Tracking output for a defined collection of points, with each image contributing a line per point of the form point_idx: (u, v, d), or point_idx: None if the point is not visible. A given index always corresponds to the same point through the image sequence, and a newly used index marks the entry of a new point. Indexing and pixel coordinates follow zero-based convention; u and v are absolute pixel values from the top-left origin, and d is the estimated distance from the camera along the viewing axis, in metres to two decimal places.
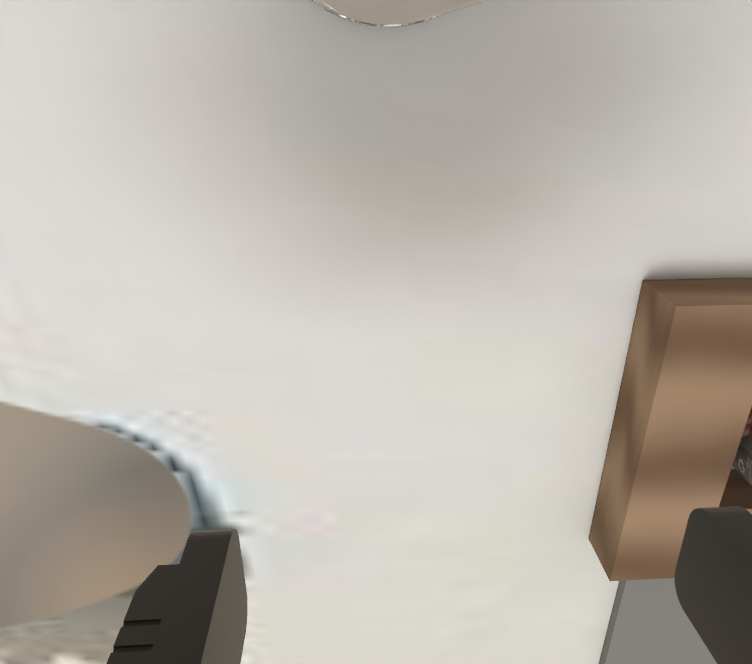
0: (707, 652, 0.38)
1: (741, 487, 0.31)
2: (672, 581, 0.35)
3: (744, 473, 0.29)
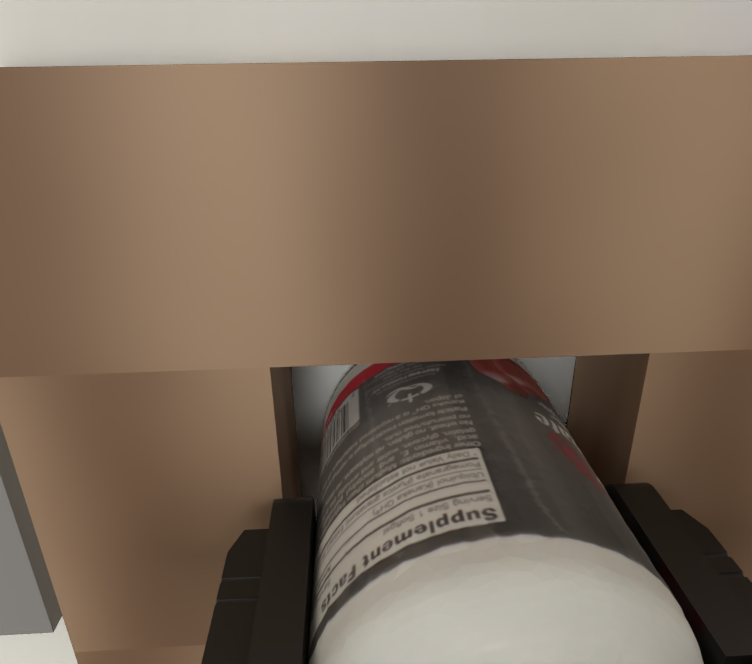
0: None
1: (287, 427, 0.12)
2: None
3: (393, 404, 0.11)
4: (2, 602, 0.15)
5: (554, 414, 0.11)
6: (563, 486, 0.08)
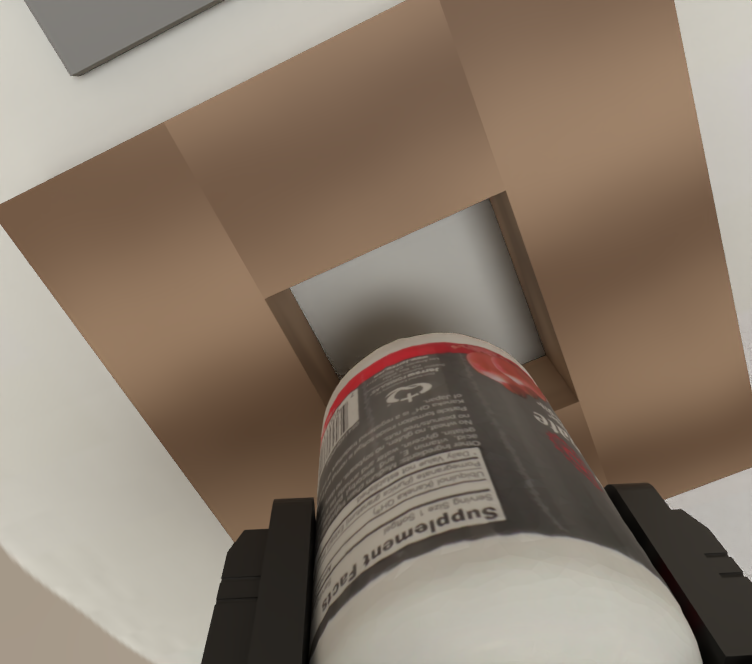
0: None
1: None
2: None
3: (392, 404, 0.11)
4: (85, 14, 0.14)
5: (553, 414, 0.11)
6: (563, 484, 0.08)
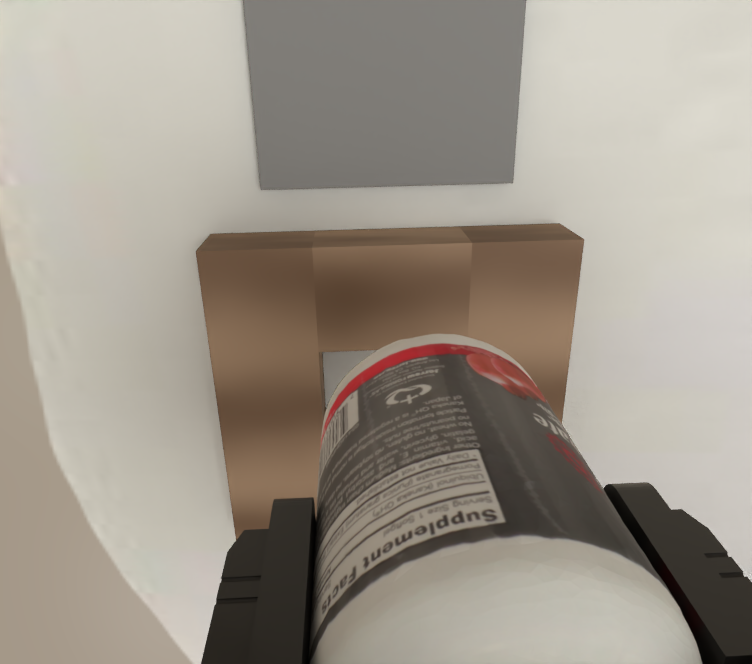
0: None
1: None
2: (448, 158, 0.25)
3: (392, 405, 0.11)
4: (285, 164, 0.25)
5: (552, 415, 0.11)
6: (562, 487, 0.08)
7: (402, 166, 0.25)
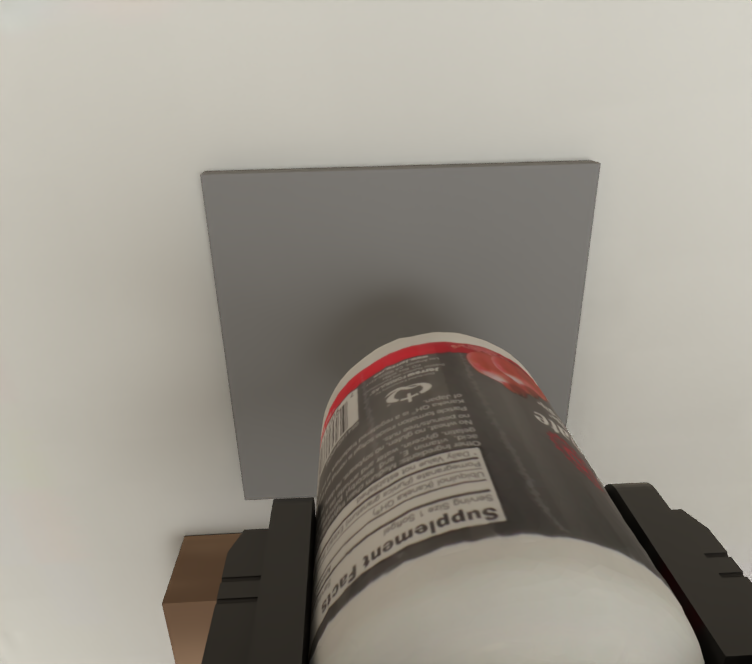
0: (362, 280, 0.17)
1: None
2: None
3: (392, 404, 0.11)
4: (275, 474, 0.20)
5: (553, 413, 0.11)
6: (563, 485, 0.08)
7: None
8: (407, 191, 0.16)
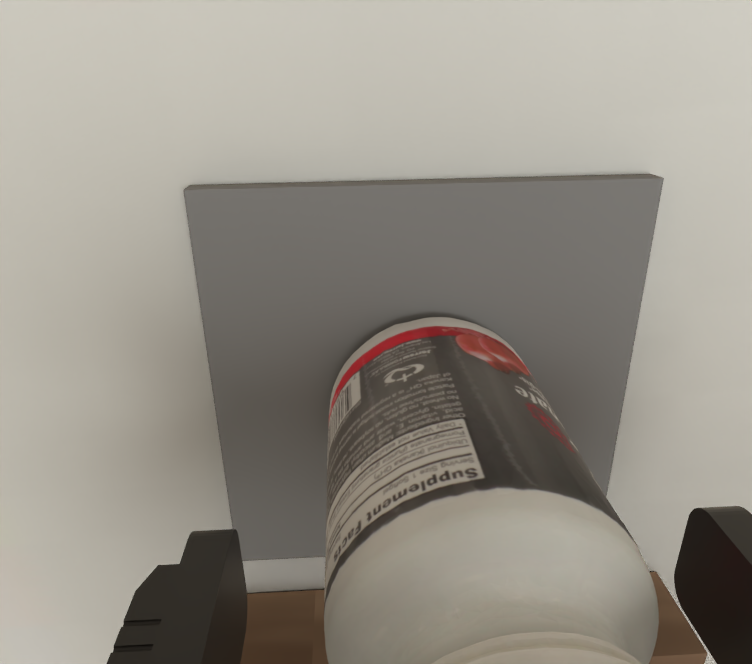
0: (376, 314, 0.15)
1: None
2: None
3: (389, 384, 0.12)
4: (273, 532, 0.17)
5: (534, 387, 0.13)
6: (536, 447, 0.10)
7: None
8: (432, 210, 0.14)
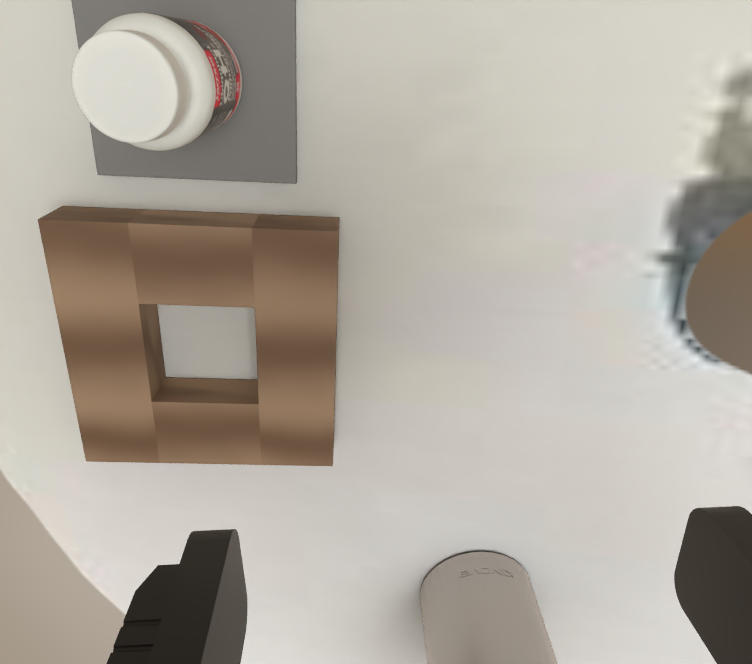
0: None
1: None
2: (244, 161, 0.33)
3: None
4: (116, 157, 0.33)
5: (213, 37, 0.28)
6: (175, 20, 0.25)
7: (208, 165, 0.33)
8: None
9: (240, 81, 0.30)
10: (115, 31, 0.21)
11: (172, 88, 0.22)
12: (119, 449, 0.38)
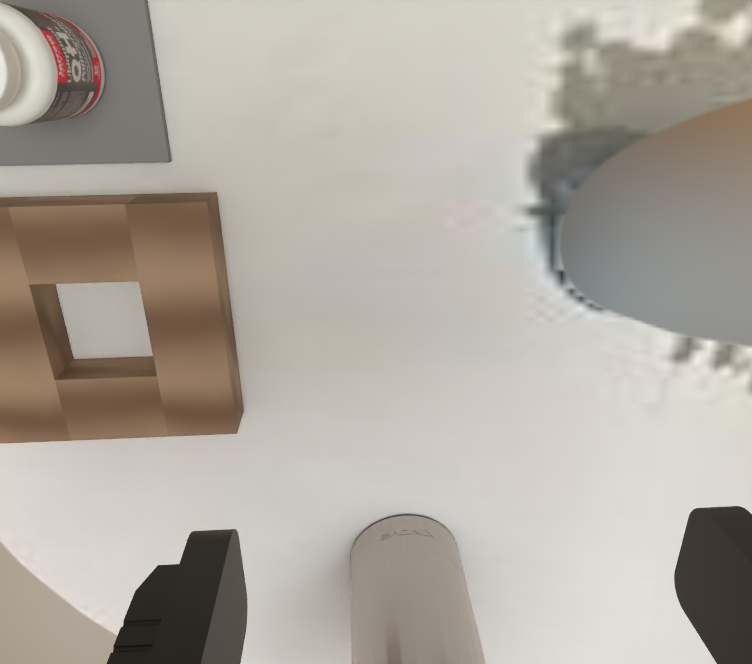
0: None
1: None
2: (117, 143, 0.35)
3: None
4: None
5: (63, 24, 0.30)
6: (14, 5, 0.27)
7: (84, 149, 0.35)
8: None
9: (100, 66, 0.33)
10: None
11: (0, 58, 0.24)
12: (30, 429, 0.40)
